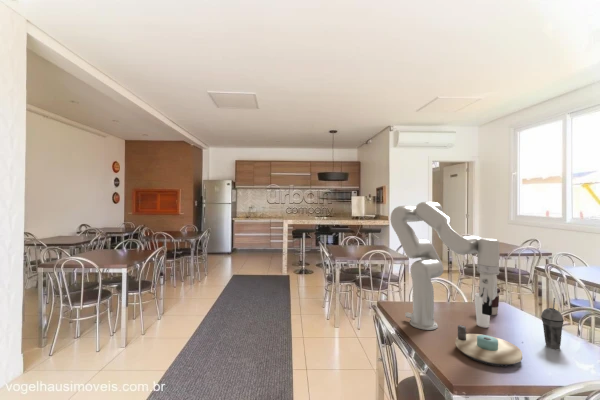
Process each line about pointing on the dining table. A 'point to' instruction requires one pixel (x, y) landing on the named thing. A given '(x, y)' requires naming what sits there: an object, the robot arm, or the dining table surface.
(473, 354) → the turntable plate
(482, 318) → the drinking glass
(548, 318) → the beverage cup
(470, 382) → the dining table surface
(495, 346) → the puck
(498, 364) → the base
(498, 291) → the coffee cup
